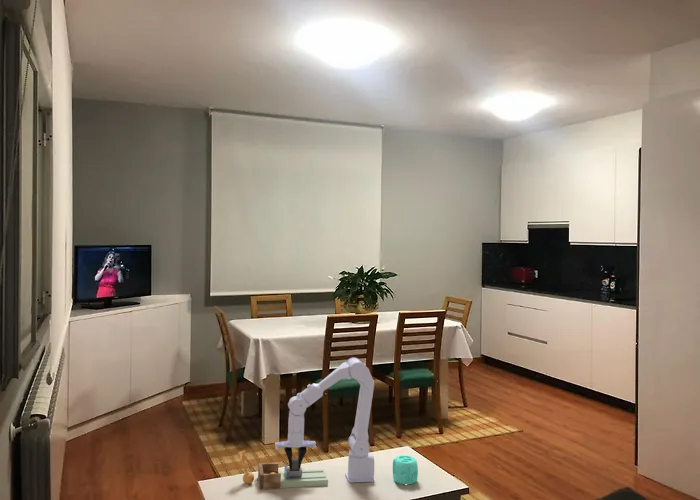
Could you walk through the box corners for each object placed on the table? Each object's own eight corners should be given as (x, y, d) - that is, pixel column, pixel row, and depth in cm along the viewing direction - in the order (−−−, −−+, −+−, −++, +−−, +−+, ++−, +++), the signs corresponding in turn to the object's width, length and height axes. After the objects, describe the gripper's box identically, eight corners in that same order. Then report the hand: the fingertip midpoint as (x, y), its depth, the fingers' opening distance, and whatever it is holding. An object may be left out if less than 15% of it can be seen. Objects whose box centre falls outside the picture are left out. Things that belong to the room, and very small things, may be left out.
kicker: (300, 470, 217) (300, 455, 217) (302, 477, 210) (303, 462, 210) (284, 471, 215) (284, 456, 215) (286, 478, 209) (286, 463, 209)
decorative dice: (395, 485, 213) (396, 463, 213) (392, 476, 221) (392, 455, 221) (417, 485, 214) (418, 463, 213) (413, 476, 221) (413, 455, 221)
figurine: (253, 488, 205) (254, 454, 205) (235, 488, 205) (236, 454, 205) (254, 478, 214) (255, 446, 214) (237, 479, 213) (238, 446, 213)
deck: (323, 474, 220) (323, 468, 220) (327, 485, 210) (328, 479, 210) (277, 476, 217) (278, 470, 217) (280, 487, 207) (280, 481, 207)
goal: (277, 475, 217) (278, 462, 217) (280, 488, 206) (280, 474, 206) (258, 476, 216) (258, 463, 216) (259, 489, 205) (260, 475, 205)
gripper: (314, 426, 218) (312, 462, 218) (275, 427, 215) (273, 464, 215) (317, 432, 211) (315, 470, 211) (276, 433, 208) (275, 471, 208)
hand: (294, 467), depth 213 cm, fingers closed on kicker, 2 cm apart
